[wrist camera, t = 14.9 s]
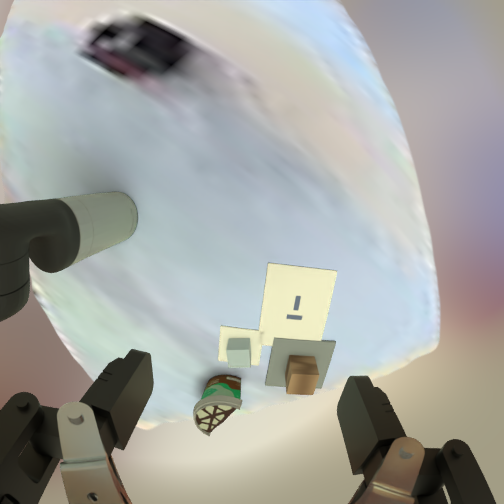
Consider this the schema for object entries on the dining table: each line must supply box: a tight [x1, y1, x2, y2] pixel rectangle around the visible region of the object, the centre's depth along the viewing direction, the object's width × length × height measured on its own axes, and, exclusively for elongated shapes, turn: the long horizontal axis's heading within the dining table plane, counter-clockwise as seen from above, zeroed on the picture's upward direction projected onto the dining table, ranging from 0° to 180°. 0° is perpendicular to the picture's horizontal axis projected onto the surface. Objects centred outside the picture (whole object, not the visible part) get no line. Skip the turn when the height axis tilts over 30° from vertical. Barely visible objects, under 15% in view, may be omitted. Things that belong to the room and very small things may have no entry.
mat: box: [265, 337, 336, 388], centre depth 50 cm, size 12×12×1 cm
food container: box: [193, 375, 242, 436], centre depth 48 cm, size 12×6×10 cm, turn 146°
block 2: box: [285, 355, 319, 395], centre depth 47 cm, size 5×5×6 cm
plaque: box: [218, 326, 264, 365], centre depth 50 cm, size 8×8×1 cm
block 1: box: [226, 338, 251, 368], centre depth 48 cm, size 4×4×4 cm
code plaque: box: [257, 263, 337, 346], centre depth 48 cm, size 12×16×1 cm
